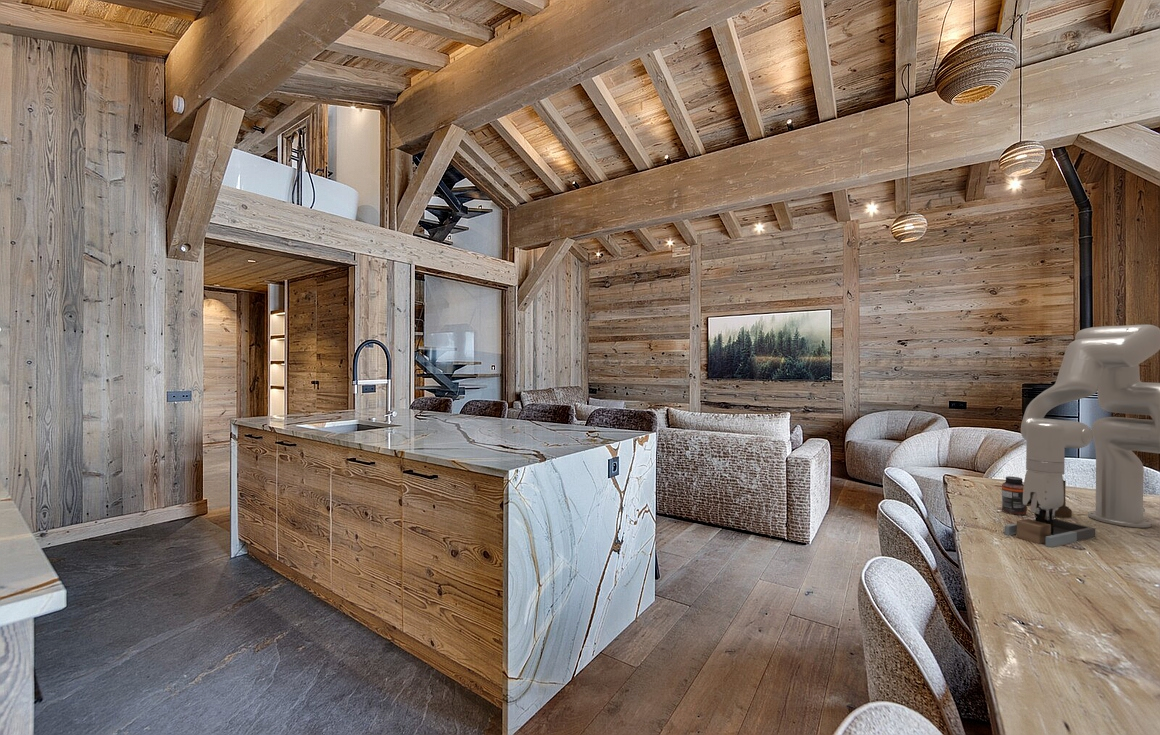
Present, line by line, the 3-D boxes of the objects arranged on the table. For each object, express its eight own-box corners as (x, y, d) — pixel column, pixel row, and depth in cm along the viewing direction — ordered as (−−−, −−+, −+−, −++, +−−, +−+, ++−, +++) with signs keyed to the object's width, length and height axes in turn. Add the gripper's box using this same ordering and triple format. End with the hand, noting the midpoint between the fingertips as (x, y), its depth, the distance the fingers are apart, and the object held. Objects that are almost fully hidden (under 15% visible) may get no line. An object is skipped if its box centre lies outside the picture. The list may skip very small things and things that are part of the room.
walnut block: (1027, 534, 131) (1028, 518, 131) (1050, 541, 126) (1050, 524, 126) (1016, 537, 129) (1016, 520, 129) (1039, 543, 124) (1039, 526, 124)
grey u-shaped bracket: (1048, 525, 138) (1048, 517, 138) (1095, 537, 129) (1095, 528, 129) (1004, 534, 131) (1004, 525, 131) (1050, 547, 122) (1050, 537, 122)
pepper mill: (1063, 512, 150) (1063, 457, 150) (1077, 519, 144) (1077, 461, 144) (1037, 510, 152) (1037, 455, 152) (1049, 516, 146) (1050, 459, 146)
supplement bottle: (1016, 510, 153) (1016, 475, 153) (1032, 515, 147) (1032, 480, 147) (996, 509, 154) (997, 475, 154) (1011, 515, 148) (1011, 479, 148)
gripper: (1043, 462, 135) (1043, 525, 135) (1011, 465, 130) (1011, 531, 130) (1078, 467, 128) (1078, 534, 128) (1046, 471, 123) (1045, 541, 123)
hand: (1044, 532), depth 129 cm, fingers closed
